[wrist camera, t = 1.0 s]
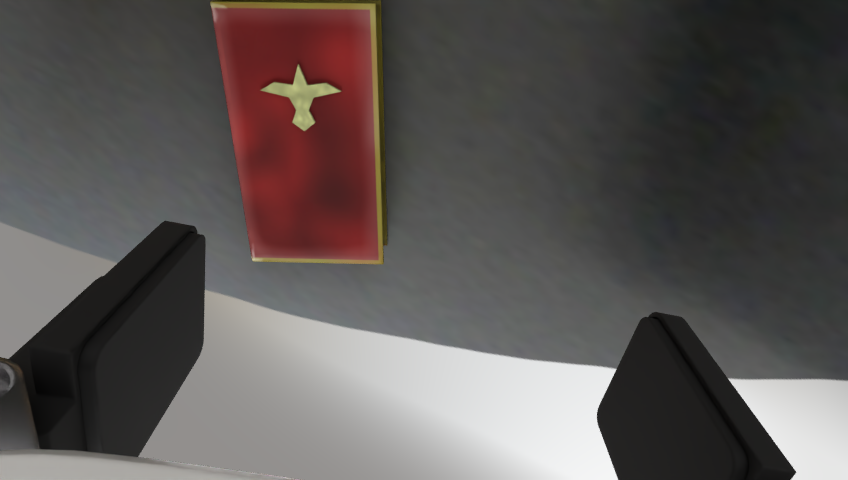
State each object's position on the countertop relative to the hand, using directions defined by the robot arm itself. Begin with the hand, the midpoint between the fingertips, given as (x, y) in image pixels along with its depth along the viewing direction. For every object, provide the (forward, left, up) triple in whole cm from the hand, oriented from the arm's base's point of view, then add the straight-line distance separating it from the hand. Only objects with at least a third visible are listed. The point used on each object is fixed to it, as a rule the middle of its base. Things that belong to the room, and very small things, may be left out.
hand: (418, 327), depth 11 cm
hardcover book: (+10, -5, -35) cm, 37 cm away
